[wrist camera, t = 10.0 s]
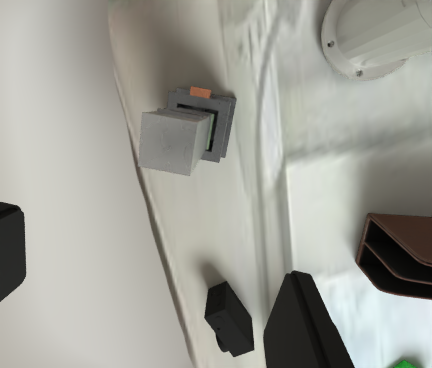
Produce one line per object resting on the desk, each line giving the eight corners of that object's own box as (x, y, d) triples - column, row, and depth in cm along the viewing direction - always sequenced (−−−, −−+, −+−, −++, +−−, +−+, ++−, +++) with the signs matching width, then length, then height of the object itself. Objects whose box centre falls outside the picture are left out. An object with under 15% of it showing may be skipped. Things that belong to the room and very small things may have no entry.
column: (181, 106, 31) (140, 108, 17) (214, 113, 31) (200, 119, 17) (176, 142, 32) (135, 169, 19) (208, 148, 32) (191, 179, 19)
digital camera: (202, 290, 49) (197, 320, 42) (226, 280, 47) (225, 308, 41) (228, 327, 51) (227, 360, 44) (251, 317, 50) (254, 350, 43)
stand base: (178, 86, 37) (164, 81, 29) (236, 96, 37) (237, 94, 29) (171, 146, 40) (156, 156, 32) (225, 156, 40) (223, 168, 32)
